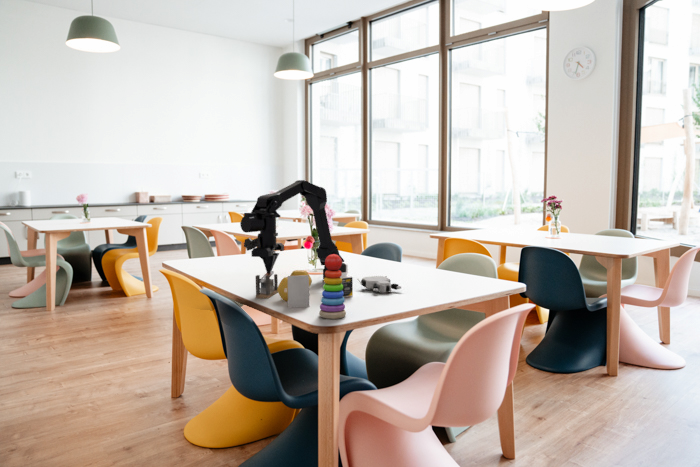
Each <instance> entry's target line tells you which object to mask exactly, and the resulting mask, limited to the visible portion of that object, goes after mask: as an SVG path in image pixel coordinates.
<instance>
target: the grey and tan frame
mask: <svg viewBox="0 0 700 467" xmlns="http://www.w3.org/2000/svg"><path fill="white" fill-rule="evenodd" d="M260 276H261V275H259V274H257V275H255V299H270V298H271V297H273V296H274V295H276V294H277V293H278V291H277V288H278V286H279V284H278V274H277V273H275V274H273V277H274V278H271V277H270V275H267V276H266V283H260V282H259V279H261V277H260ZM278 294H279V293H278Z"/></svg>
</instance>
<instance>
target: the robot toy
mask: <svg viewBox="0 0 700 467" xmlns="http://www.w3.org/2000/svg"><path fill="white" fill-rule="evenodd" d="M357 280H358V282H359V283H360V285H361V286H363V288H365V289H366V290H368V291H369V290H371V291H373V292H374V293H375V292H376V293H377V292H379V293H380V294H387V293H390V292H392V290H395V291H396V290H400V289H402V286H400V285H399V284H397V283H391V280H390V278H389V277H387V276H383V275H382V276H381V275H380V276H379V275H374V276H373V275H372V276H370V275H369V276H364V277H363V278H362V279H361V281H360V279H359V278H357Z"/></svg>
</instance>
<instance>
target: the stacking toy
mask: <svg viewBox="0 0 700 467" xmlns="http://www.w3.org/2000/svg"><path fill="white" fill-rule="evenodd" d="M325 265H326V268H327V269H328V270H327V271H326V272H325V276H326V277H325V278H324V279H323V280H324V281H323V282H324V284H323V286H322V288H323V290H322V292H321V295H322V297H321V299H320V301H321V303H320V304H319V309H320V310H319V313H318V315H319V317H321V318H324V319H327V320H337V319H338V320H339V319H342V318H344V317H346V314H347V311H346V310H345V309H346V305H345V304H344V303H345V301H346V299H345V297H343V295H344V292H343V291H342V289H343V285H342V284H341V283H342V278H340V277H341V275H342V272H341V271H340V270H339V269H340V267H341V265H342V260H341V258H340V257H339V256H338V255H336V254H331V255H329V256H328V257H327V258H326V260H325ZM325 265H324V266H325Z"/></svg>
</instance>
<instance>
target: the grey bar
mask: <svg viewBox="0 0 700 467" xmlns="http://www.w3.org/2000/svg"><path fill="white" fill-rule="evenodd" d="M274 273H275V271H274V270H272V271H271V273H267V272H266V273H264V275H263V276H261V277H260V279H259V282H260V284H261V283H266V276H267V275H270V278H271V277H272V276H273V275H274Z"/></svg>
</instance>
